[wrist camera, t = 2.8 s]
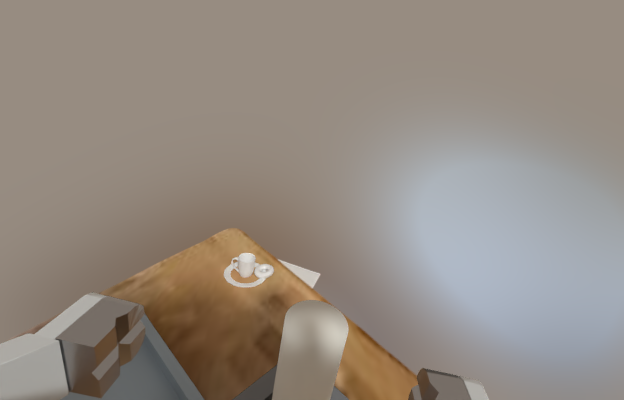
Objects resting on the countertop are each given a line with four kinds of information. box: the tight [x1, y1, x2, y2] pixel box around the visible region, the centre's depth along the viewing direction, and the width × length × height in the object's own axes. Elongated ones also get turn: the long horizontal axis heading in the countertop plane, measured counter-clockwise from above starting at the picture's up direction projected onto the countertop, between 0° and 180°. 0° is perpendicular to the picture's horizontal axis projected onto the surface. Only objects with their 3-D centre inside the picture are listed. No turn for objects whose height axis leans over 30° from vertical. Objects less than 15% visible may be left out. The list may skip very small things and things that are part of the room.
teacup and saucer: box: [224, 253, 274, 287], centre depth 55 cm, size 9×8×4 cm
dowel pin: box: [272, 300, 348, 400], centre depth 26 cm, size 5×5×18 cm
